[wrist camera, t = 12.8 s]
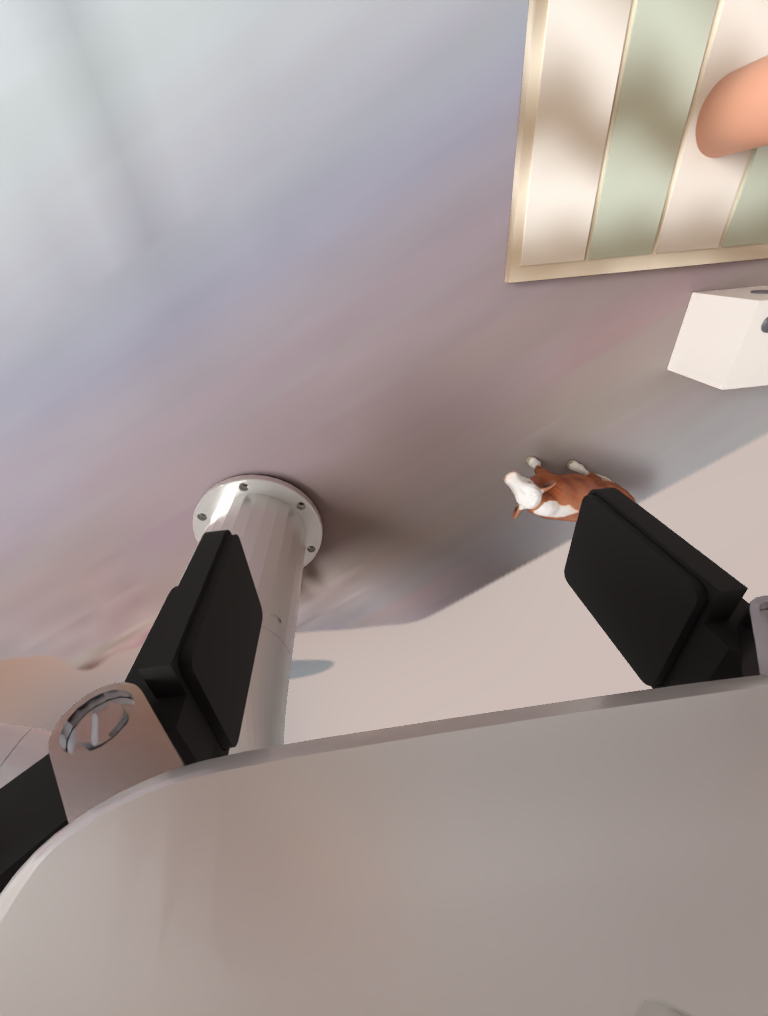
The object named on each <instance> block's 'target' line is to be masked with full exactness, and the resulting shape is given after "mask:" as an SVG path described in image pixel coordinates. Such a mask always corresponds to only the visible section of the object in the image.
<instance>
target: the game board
mask: <svg viewBox="0 0 768 1016" xmlns="http://www.w3.org/2000/svg"><path fill="white" fill-rule="evenodd" d="M767 55H768V0H529V11H528V22H527V34H526V45H525V56H524V68H523V79H522V90H521V102H520V113H519V124H518V136H517V147H516V158H515V170H514V181H513V192H512V204H511V215H510V226H509V238H508V249H507V261H506V272H505V282H508V283H512V282H523V281H533V280H544V279H554V278H565V277H575V276H586V275H596V274H607V273H617V272H628V271H638V270H649V269H659V268H669V267H680V266H690V265H701V264H711V263H722V262H732V261H743V260H753V259H764V258H768V145H766V146H762V147H758V148H754V149H750V150H746V151H742V152H738V153H734V154H730V155H726V156H722V157H718V158H710V157H707V156H705V155H704V154H702V153H701V151H700V150H699V148H698V146H697V143H696V135H695V132H696V123H697V119H698V115H699V112H700V110H701V107H702V105H703V103H704V101H705V99H706V97H707V96H708V94H709V93H710V91H711V90H712V89H713V87H714V86H715V85H716V84H717V83H718V82H719V81H720V80H721V79H722V78H723V77H724V76H726V75H727V74H729V73H730V72H732V71H734V70H736V69H739V68H741V67H743V66H745V65H747V64H749V63H752V62H754V61H756V60H758V59H760V58H762V57H764V56H767Z"/></svg>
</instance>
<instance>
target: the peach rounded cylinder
mask: <svg viewBox="0 0 768 1016" xmlns="http://www.w3.org/2000/svg"><path fill="white" fill-rule="evenodd" d="M695 135H696V143H697V146H698V148H699V150H700V151H701V153H702V154H704V155H705V156H707V157H710V158H718V157H722V156H726V155H730V154H734V153H738V152H742V151H746V150H750V149H754V148H758V147H762V146H766V145H768V55H767V56H764V57H762V58H760V59H758V60H756V61H754V62H752V63H749V64H747V65H745V66H743V67H741V68H739V69H736V70H734V71H732V72H730V73H729V74H727V75H726V76H724V77H723V78H722V79H721V80H720V81H719V82H718V83H717V84H716V85H715V86H714V87H713V89H712V90H711V91H710V93H709V94H708V96H707V97H706V99H705V101H704V103H703V105H702V107H701V110H700V112H699V115H698V119H697V123H696V132H695Z"/></svg>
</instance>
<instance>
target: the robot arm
mask: <svg viewBox="0 0 768 1016" xmlns="http://www.w3.org/2000/svg"><path fill="white" fill-rule="evenodd" d="M244 483H245V484H244ZM301 502H303V503H301ZM193 530H194V535H195V538H196V540H197V542H198V544H197V546H196V548H195V550H194V552H193V554H192V556H191V558H190V560H189V562H188V565H187V567H186V569H185V571H184V573H183V575H182V577H181V579H180V581H179V583H178V585H177V586H176V587H175V588H173V589H172V590H171V592H170V593H169V595H168V597H167V599H166V601H165V603H164V605H163V607H162V609H161V611H160V613H159V615H158V617H157V619H156V621H155V623H154V625H153V626H152V628H151V630H150V632H149V634H148V636H147V638H146V640H145V642H144V644H143V646H142V648H141V650H140V652H139V654H138V656H137V658H136V660H135V662H134V664H133V666H132V668H131V670H130V672H129V674H128V676H127V678H126V680H125V682H121V683H113V684H109V685H106V686H103V687H100V688H99V689H96V690H94V691H93V692H91V693H89V694H87V695H86V696H84V697H83V698H81V699H80V700H79V701H78V702H76V703H75V704H74V705H73V706H72V707H71V708H70V709H69V710H68V711H67V712H66V713H65V714H64V715H63V716H62V717H61V718H60V720H59V721H58V723H57V724H56V726H55V727H54V729H53V731H49V730H44V729H38V728H33V727H26V726H20V725H14V724H5V723H0V1016H768V596H761V597H757V598H755V599H753V600H752V601H751V602H750V604H749V603H747V602H746V601H745V600H744V599H743V598H742V597H743V595H744V594H745V592H746V591H747V587H745V586H744V585H743V584H741V583H740V582H739V581H737V580H736V579H735V578H734V577H732V576H731V575H730V574H728V573H727V572H726V571H724V570H723V569H722V568H720V567H719V566H718V565H717V564H715V563H714V562H713V561H711V560H710V559H709V558H707V557H706V556H705V555H703V554H702V553H701V552H700V551H698V550H697V549H695V548H694V547H693V546H691V545H690V544H689V543H688V542H686V541H685V540H684V539H683V538H681V537H680V536H679V535H677V534H676V533H674V532H673V531H672V530H670V529H669V528H668V527H667V526H666V525H664V524H663V523H662V522H660V521H659V520H658V519H656V518H655V517H654V516H652V515H651V514H650V513H649V512H647V511H646V510H644V509H643V508H642V507H641V506H639V505H638V504H637V503H635V502H634V501H633V500H632V499H630V498H629V497H628V496H626V495H625V494H624V493H622V492H621V491H620V490H618V489H617V488H615V487H610V488H601V489H593V490H591V491H590V492H589V493H588V495H586V496H584V498H583V499H582V503H581V507H580V510H579V514H578V518H577V522H576V526H575V530H574V534H573V538H572V542H571V546H570V550H569V554H568V558H567V562H566V566H565V571H564V573H565V578H566V580H567V582H568V584H569V585H570V586H571V588H572V589H573V590H574V592H575V593H576V594H577V596H578V597H579V598H580V600H581V601H582V602H583V603H584V605H585V606H586V607H587V609H588V610H589V612H590V613H591V614H592V615H593V617H594V618H595V619H596V621H597V622H598V623H599V625H600V626H601V627H602V629H603V630H604V631H605V632H606V634H607V635H608V637H609V638H610V639H611V641H612V642H613V643H614V645H615V646H616V647H617V649H618V650H619V651H620V653H621V654H622V655H623V657H624V658H625V659H626V660H627V662H628V663H629V664H630V666H631V667H632V668H633V670H634V671H635V672H636V674H637V675H638V676H639V678H640V679H641V680H642V681H643V682H644V683H645V684H646V685H649V686H651V687H652V688H653V689H648V690H641V691H634V692H628V693H621V694H613V695H606V696H600V697H593V698H586V699H579V700H572V701H565V702H558V703H552V704H545V705H538V706H531V707H524V708H517V709H511V710H504V711H497V712H491V713H484V714H477V715H471V716H464V717H457V718H451V719H444V720H438V721H431V722H424V723H418V724H411V725H405V726H398V727H392V728H385V729H379V730H372V731H366V732H359V733H353V734H347V735H340V736H334V737H327V738H321V739H315V740H309V741H303V742H297V743H291V744H287V745H284V727H285V713H286V703H287V693H288V684H289V677H290V669H291V661H292V653H293V645H294V637H295V629H296V621H297V613H298V605H299V597H300V589H301V581H302V573H303V568H304V567H305V566H306V565H307V564H308V563H310V562H311V561H312V560H313V558H314V557H315V556H316V554H317V553H318V550H319V548H320V546H321V541H322V532H323V526H322V521H321V516H320V514H319V512H318V510H317V508H316V506H315V505H314V504H313V502H312V501H311V500H310V498H309V497H307V496H306V495H305V494H304V493H303V492H302V491H301V490H299V489H298V488H296V487H295V486H293V485H291V484H289V483H287V482H285V481H282V480H280V479H277V478H273V477H269V476H263V475H240V476H236V477H232V478H228V479H226V480H223V481H221V482H219V483H217V484H216V485H214V486H213V487H212V488H210V489H209V490H208V491H207V492H206V493H205V494H204V495H203V497H202V498H201V500H200V501H199V503H198V505H197V507H196V509H195V512H194V515H193Z"/></svg>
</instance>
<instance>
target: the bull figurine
mask: <svg viewBox="0 0 768 1016" xmlns="http://www.w3.org/2000/svg"><path fill="white" fill-rule="evenodd" d="M526 462H527V464H528V465H530V466H531V467H533V468H534V471H535V473H536V475H535V476H533V477H531V478H526V477H523V476H521V475H520V474H519V473H518V472H517V471H516V470H512V471H511V472H509V473H508V474H507V475H505V477H504V482H505V483H506V484H507V485H508V486H509V487H510V488H511V490H512V492H513V493H514V496H515V498H516V501H517V502H518V506H517V507H516V508H515V510H514V512H513V516H512V518H513V519H515V518H517V516H518V515H519V514H520V513H521V511H522V510H523V509H527V510H528V511H529V512H530V513H532V514H535V515H538V516H540V517H543V518H546V519H556V520H563V521H577V518H578V514H579V510H580V507H581V503H582V499H583V498H584V496H586V495H588V493H589V492H590V491H591V490H593V489H601V488H610V487H615V488H617V489H618V490H620V491H621V492H622V493H624V494H625V495H626V496H628V497H629V498H630V499H632V500H633V501H634V502H635V500H634V498H633V497H632V496H631V495H630V494H629V493H628V492H627V491H626V490H625V489H623V488H621V487H620V486H619V485H617V484H616V483H613V482H612V481H611V480H610V479H609V478H607V477H605V476H601V475H599V474H597V473H592V472H589V471H587V470H586V469H585V468H584V466H583V464H579V463H578V462H577V461H576V460H570V461H569V462H568V463H567V468H569V469H571V470H573V471H576V472H579V473H581V474H583V475H581V474H573V473H571V474H565V475H557V474H553V473H550V472H549V471H548V470H546V469H544V468H543V467H541V466H540V464H541V461H538V460H537V459H536V458H535V457H534V456H530V457H528V458H527V460H526Z"/></svg>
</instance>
